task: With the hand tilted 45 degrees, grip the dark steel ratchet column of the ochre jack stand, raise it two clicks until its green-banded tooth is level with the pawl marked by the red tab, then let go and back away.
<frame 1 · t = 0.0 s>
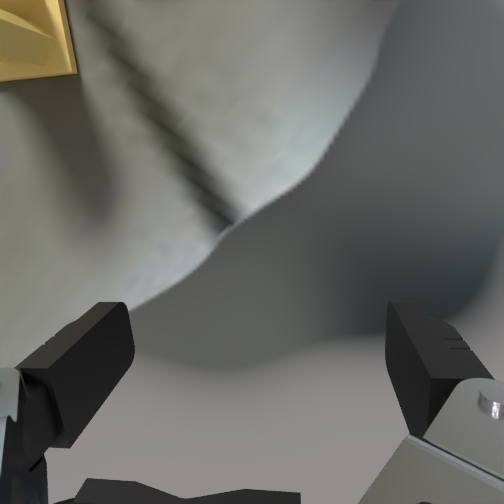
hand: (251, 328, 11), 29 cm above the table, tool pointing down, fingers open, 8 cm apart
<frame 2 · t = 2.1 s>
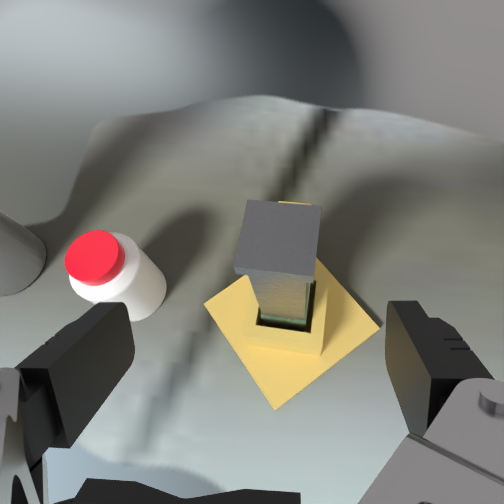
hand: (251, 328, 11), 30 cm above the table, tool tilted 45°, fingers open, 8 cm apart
pill bottle: (137, 291, 46), on the table
stand base: (288, 317, 42), on the table
column: (284, 283, 32), point 11 cm above the table, slide at 0.0 cm
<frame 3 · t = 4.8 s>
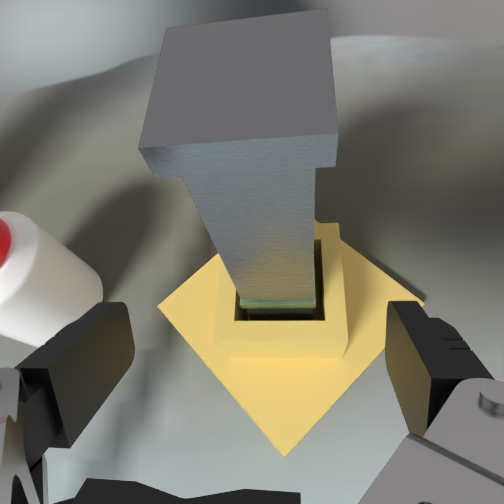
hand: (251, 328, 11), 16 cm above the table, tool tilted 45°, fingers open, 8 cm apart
pill bottle: (61, 303, 31), on the table
stand base: (285, 309, 28), on the table
column: (271, 236, 19), point 11 cm above the table, slide at 0.0 cm
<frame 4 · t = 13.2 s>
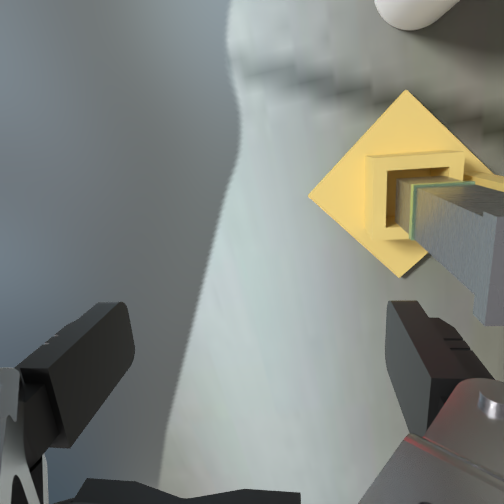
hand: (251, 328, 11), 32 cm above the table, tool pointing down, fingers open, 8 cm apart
stand base: (400, 189, 40), on the table
column: (465, 222, 24), point 16 cm above the table, slide at 5.2 cm
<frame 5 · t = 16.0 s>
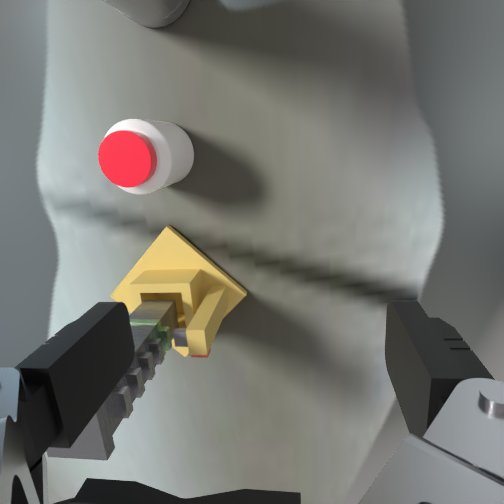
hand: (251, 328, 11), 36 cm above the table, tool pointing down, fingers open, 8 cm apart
pill bottle: (165, 153, 46), on the table
stand base: (178, 292, 52), on the table
column: (129, 358, 37), point 16 cm above the table, slide at 5.2 cm
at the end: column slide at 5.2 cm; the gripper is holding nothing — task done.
